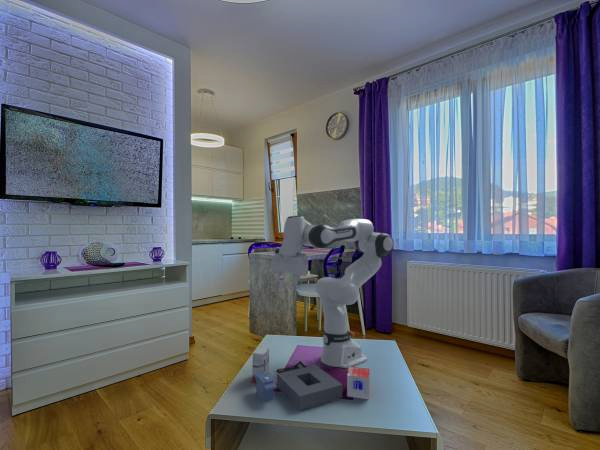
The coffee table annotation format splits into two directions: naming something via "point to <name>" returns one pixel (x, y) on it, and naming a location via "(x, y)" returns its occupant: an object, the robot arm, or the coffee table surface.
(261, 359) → the ink box
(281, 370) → the calculator
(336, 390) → the plate
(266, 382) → the block
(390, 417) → the coffee table surface
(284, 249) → the robot arm
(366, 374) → the white red cube carton
